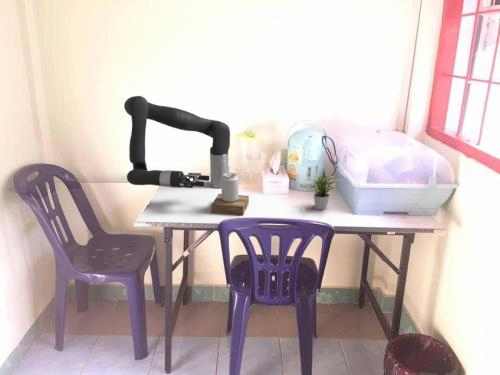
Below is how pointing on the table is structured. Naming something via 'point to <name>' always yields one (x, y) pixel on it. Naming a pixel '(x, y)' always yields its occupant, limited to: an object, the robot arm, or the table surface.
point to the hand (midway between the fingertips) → (206, 181)
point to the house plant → (322, 191)
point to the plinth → (230, 205)
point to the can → (230, 187)
